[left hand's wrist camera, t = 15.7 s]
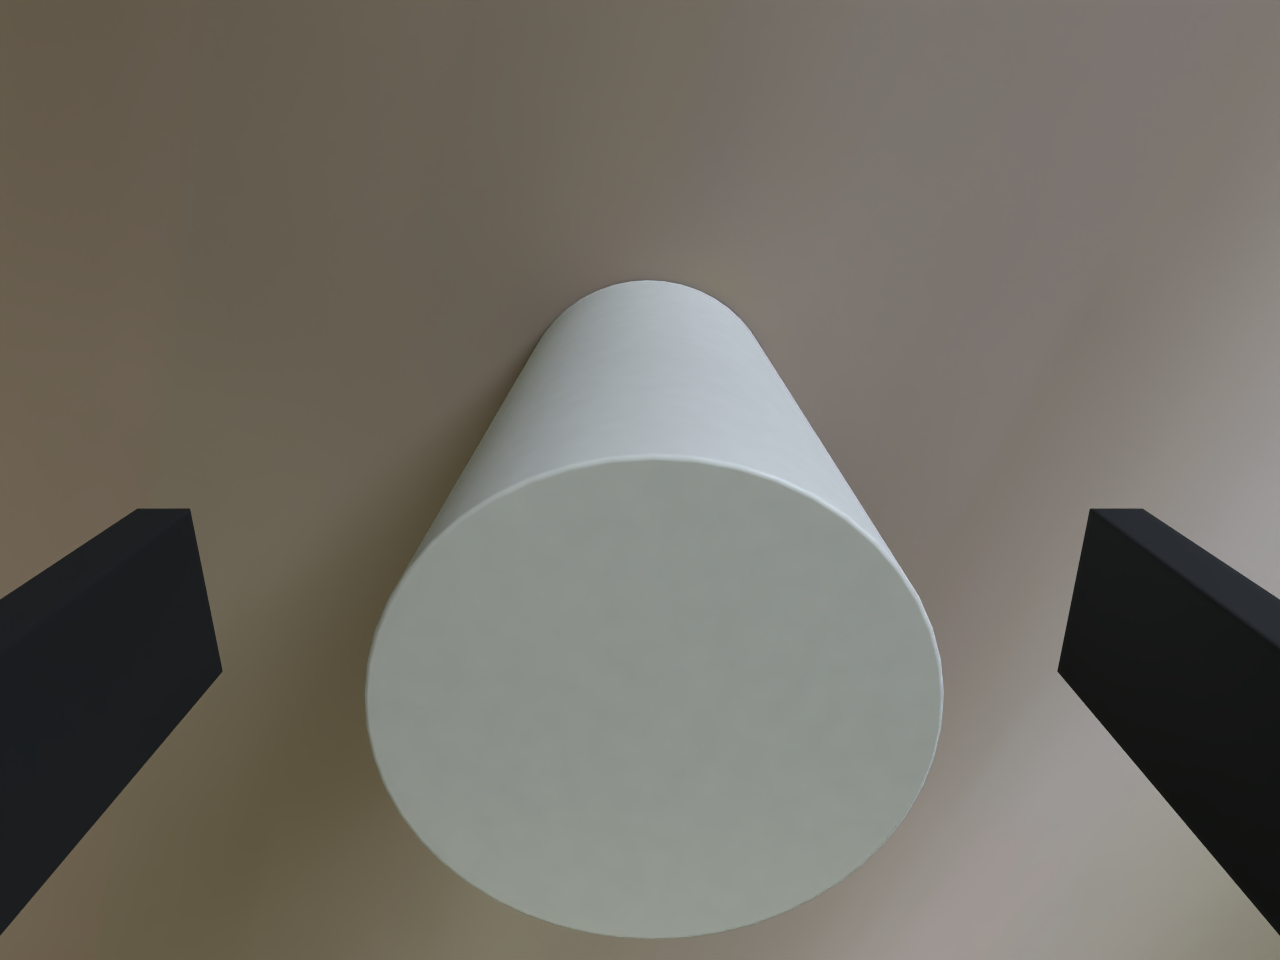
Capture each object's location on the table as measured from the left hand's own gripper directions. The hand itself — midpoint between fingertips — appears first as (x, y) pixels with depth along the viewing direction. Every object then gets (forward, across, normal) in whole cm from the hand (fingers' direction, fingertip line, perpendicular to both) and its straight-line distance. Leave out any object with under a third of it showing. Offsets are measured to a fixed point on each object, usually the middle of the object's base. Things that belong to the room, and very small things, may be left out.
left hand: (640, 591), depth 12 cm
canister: (+9, 0, 0) cm, 9 cm away
